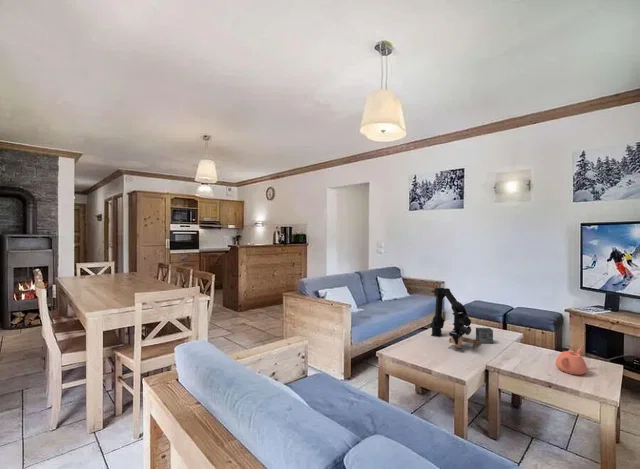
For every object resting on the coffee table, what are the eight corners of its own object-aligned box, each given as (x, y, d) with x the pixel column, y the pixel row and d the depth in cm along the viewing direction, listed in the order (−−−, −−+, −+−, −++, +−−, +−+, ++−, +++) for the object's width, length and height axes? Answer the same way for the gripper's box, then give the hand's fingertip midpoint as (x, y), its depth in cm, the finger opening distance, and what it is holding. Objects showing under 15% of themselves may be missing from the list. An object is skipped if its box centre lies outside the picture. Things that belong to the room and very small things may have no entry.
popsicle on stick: (460, 348, 228) (460, 337, 228) (449, 346, 233) (450, 335, 233) (462, 346, 232) (463, 336, 232) (452, 344, 237) (452, 333, 237)
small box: (489, 341, 247) (489, 327, 247) (493, 344, 240) (493, 330, 240) (475, 340, 248) (475, 327, 248) (478, 343, 241) (478, 329, 241)
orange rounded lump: (566, 362, 207) (567, 343, 207) (595, 371, 194) (595, 351, 194) (548, 369, 197) (548, 349, 197) (576, 379, 184) (577, 358, 184)
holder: (449, 342, 243) (449, 338, 243) (454, 338, 252) (454, 335, 251) (474, 348, 231) (474, 344, 231) (479, 344, 239) (479, 340, 239)
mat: (448, 348, 232) (448, 347, 232) (452, 344, 239) (452, 344, 239) (463, 352, 225) (463, 351, 225) (468, 348, 231) (468, 348, 231)
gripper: (465, 327, 219) (465, 350, 219) (474, 321, 233) (474, 342, 233) (448, 324, 227) (448, 345, 227) (458, 318, 240) (458, 339, 241)
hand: (458, 343), depth 232 cm, fingers closed on popsicle on stick, 5 cm apart
